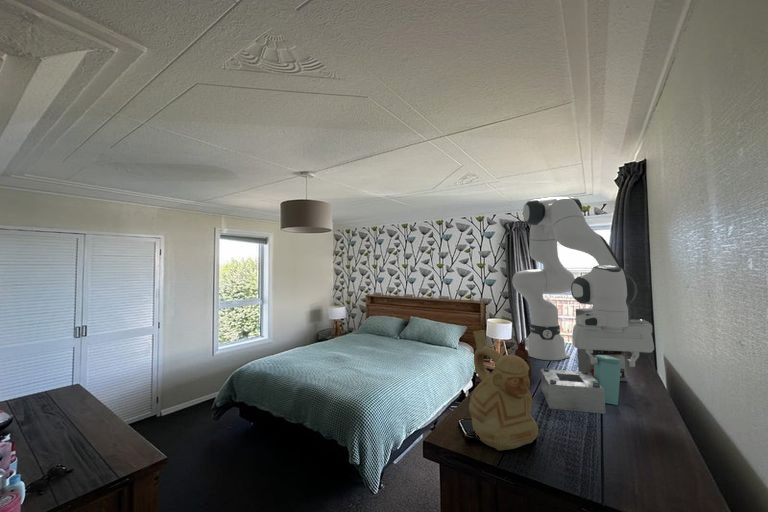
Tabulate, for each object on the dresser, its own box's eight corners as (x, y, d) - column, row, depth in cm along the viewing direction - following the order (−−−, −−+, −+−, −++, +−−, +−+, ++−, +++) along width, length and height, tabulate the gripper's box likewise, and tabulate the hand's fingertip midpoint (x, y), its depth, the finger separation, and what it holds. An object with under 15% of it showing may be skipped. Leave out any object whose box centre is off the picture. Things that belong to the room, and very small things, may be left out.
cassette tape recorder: (588, 383, 110) (585, 311, 110) (578, 377, 116) (574, 308, 117) (628, 382, 110) (624, 309, 111) (615, 375, 116) (612, 307, 117)
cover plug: (589, 394, 99) (592, 353, 100) (611, 398, 98) (614, 356, 98) (597, 402, 94) (600, 359, 94) (620, 406, 92) (623, 362, 92)
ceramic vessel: (496, 467, 67) (492, 348, 67) (451, 423, 85) (448, 330, 86) (561, 451, 71) (556, 340, 72) (505, 413, 90) (501, 325, 91)
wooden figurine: (533, 383, 111) (531, 340, 111) (516, 383, 112) (514, 340, 112) (528, 377, 117) (527, 336, 118) (512, 376, 118) (510, 336, 119)
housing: (541, 389, 105) (540, 366, 106) (589, 393, 101) (588, 370, 101) (549, 408, 92) (548, 382, 92) (605, 414, 88) (604, 386, 88)
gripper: (646, 317, 95) (648, 364, 95) (569, 316, 102) (571, 359, 101) (657, 321, 89) (659, 371, 89) (575, 320, 96) (577, 366, 95)
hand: (612, 365), depth 95 cm, fingers open, 8 cm apart
